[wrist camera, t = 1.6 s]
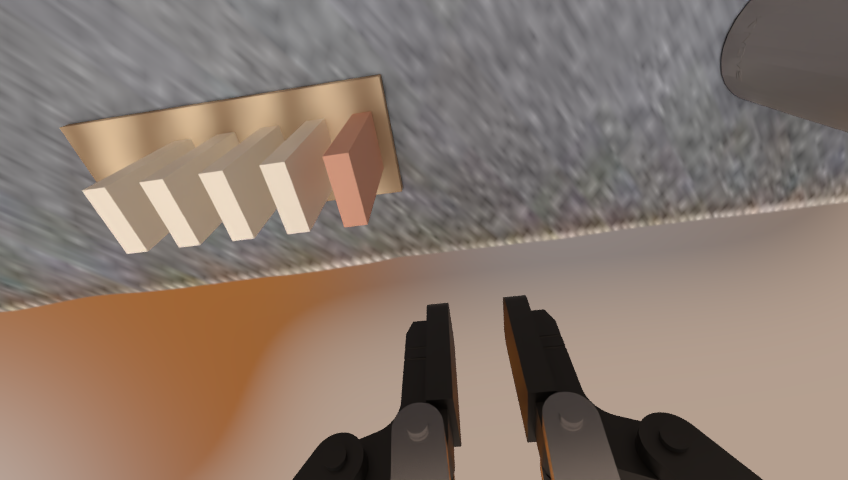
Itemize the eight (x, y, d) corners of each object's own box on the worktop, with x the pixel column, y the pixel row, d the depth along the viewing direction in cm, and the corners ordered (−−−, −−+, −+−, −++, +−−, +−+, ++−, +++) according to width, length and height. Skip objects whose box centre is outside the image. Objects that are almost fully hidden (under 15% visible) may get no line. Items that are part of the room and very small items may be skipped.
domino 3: (279, 125, 31) (222, 170, 23) (298, 179, 34) (254, 238, 25) (260, 127, 31) (198, 174, 23) (281, 181, 34) (232, 241, 25)
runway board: (380, 74, 30) (379, 76, 29) (402, 186, 35) (401, 191, 34) (69, 124, 32) (59, 127, 31) (134, 221, 38) (127, 227, 37)
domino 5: (371, 111, 30) (348, 152, 22) (383, 167, 33) (367, 224, 25) (352, 113, 30) (322, 156, 22) (366, 170, 33) (344, 227, 25)
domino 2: (234, 131, 31) (162, 179, 23) (257, 185, 34) (200, 244, 26) (216, 134, 32) (139, 182, 23) (240, 187, 34) (178, 247, 26)
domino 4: (324, 118, 31) (284, 161, 22) (340, 173, 33) (310, 231, 25) (306, 121, 31) (259, 165, 22) (323, 176, 33) (287, 234, 25)
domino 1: (191, 138, 32) (104, 187, 23) (216, 190, 34) (147, 251, 26) (173, 141, 32) (81, 190, 24) (201, 192, 35) (127, 253, 26)
